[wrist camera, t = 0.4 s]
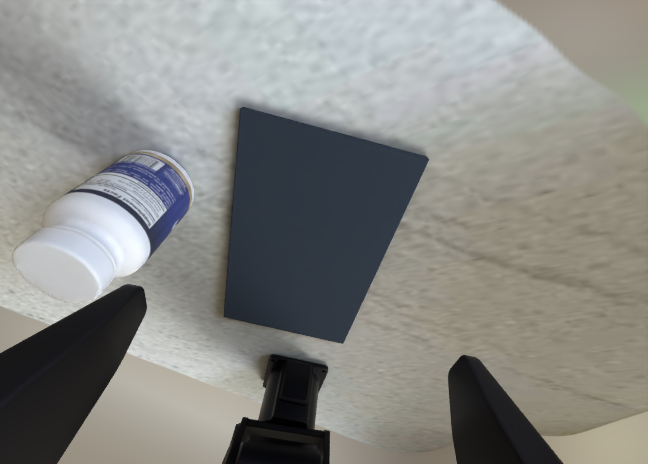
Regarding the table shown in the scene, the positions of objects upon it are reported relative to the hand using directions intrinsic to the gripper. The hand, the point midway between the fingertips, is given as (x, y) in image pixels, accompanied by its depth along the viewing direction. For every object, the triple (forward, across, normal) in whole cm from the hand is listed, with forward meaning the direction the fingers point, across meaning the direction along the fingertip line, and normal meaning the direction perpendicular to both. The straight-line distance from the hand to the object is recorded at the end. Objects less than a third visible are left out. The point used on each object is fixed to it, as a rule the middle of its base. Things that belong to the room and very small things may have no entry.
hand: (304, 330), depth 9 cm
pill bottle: (+14, +12, +6) cm, 19 cm away
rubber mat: (+14, 0, +9) cm, 17 cm away
